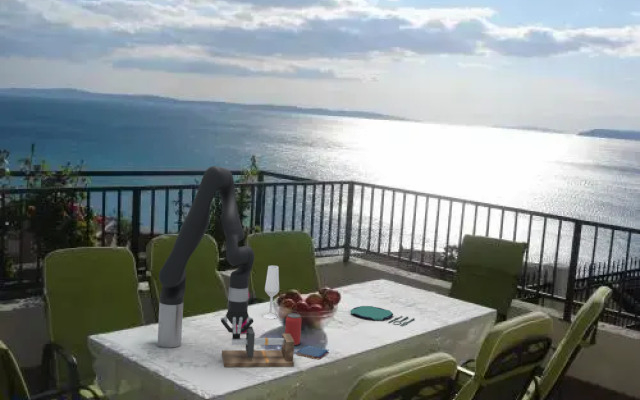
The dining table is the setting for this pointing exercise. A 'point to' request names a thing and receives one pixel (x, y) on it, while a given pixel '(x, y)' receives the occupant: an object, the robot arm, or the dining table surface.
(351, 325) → the dining table surface
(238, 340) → the light grey beam
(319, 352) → the woven mat
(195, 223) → the robot arm
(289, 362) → the base board
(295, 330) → the beer can
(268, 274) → the champagne flute
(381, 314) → the cutlery set
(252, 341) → the dark grey block
